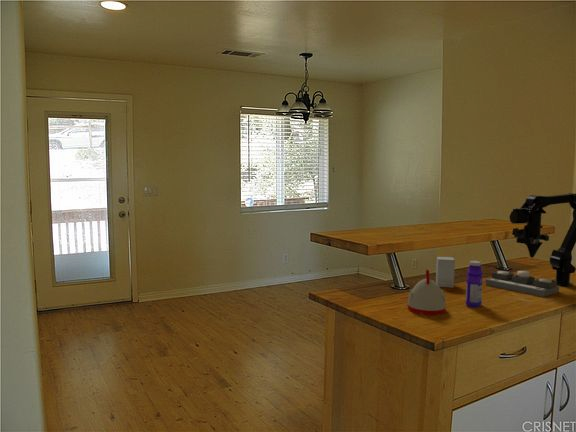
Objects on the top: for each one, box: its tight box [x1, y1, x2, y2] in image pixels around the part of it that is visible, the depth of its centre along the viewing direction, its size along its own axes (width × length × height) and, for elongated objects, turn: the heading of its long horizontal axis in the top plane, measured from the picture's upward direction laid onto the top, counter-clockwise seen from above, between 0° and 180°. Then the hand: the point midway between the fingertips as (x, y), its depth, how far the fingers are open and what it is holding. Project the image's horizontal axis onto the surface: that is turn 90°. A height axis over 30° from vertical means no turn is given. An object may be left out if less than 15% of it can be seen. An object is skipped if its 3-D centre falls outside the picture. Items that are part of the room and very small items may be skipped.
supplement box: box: [435, 256, 456, 288], centre depth 222 cm, size 7×7×13 cm
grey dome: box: [407, 269, 447, 316], centre depth 185 cm, size 14×14×15 cm
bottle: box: [465, 260, 484, 308], centre depth 190 cm, size 7×6×17 cm
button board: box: [485, 271, 560, 298], centre depth 218 cm, size 14×26×5 cm, turn 38°
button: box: [496, 270, 509, 275], centre depth 226 cm, size 5×5×2 cm
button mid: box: [516, 270, 531, 279], centre depth 218 cm, size 5×5×2 cm
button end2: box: [538, 278, 553, 283], centre depth 211 cm, size 5×5×2 cm
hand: (531, 257), depth 222 cm, fingers closed
